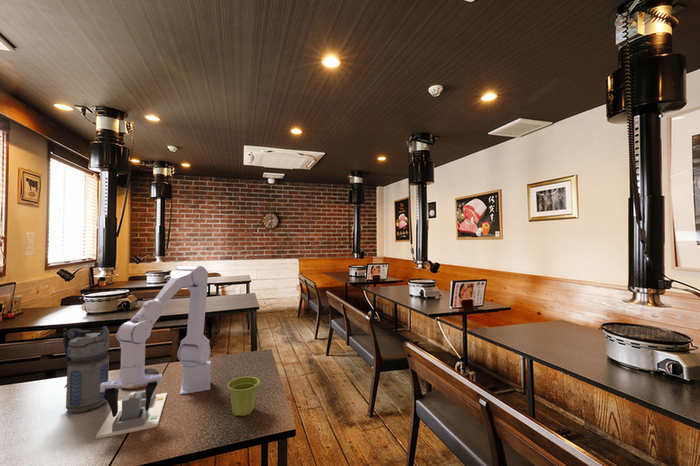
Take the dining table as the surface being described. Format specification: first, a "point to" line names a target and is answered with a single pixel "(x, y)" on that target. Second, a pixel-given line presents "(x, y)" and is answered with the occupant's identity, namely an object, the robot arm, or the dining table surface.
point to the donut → (146, 372)
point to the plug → (131, 406)
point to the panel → (144, 422)
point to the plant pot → (243, 394)
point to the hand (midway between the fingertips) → (131, 412)
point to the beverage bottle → (86, 368)
